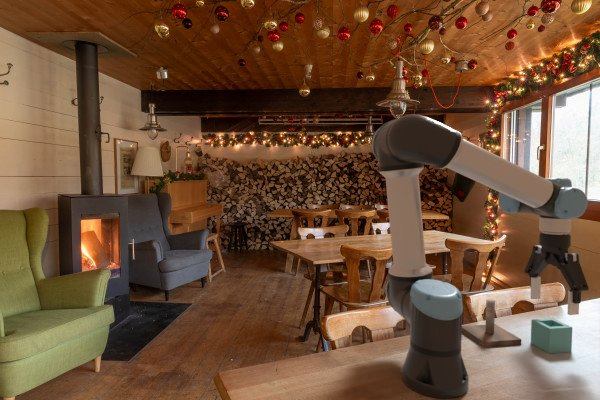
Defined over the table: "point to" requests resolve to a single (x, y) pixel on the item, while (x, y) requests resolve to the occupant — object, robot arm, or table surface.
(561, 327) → the teal open box
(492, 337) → the stand
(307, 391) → the table surface
